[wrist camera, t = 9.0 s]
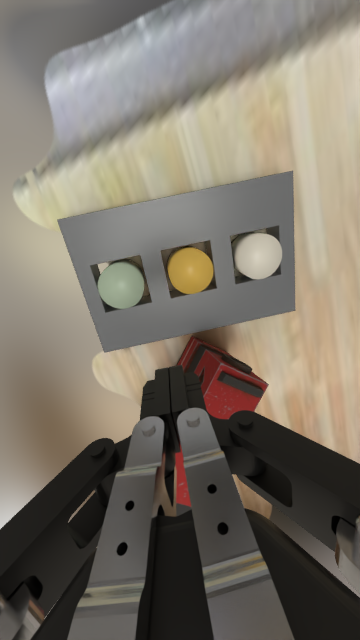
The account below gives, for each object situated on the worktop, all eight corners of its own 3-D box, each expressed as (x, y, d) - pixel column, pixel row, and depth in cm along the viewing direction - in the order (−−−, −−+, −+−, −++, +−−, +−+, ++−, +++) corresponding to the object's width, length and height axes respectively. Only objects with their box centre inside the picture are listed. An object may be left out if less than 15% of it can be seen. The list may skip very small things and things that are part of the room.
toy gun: (114, 467, 37) (107, 588, 23) (185, 326, 36) (226, 360, 21) (147, 476, 39) (160, 595, 24) (217, 340, 37) (275, 382, 23)
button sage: (139, 255, 27) (137, 260, 24) (149, 294, 29) (148, 303, 25) (98, 263, 27) (91, 269, 24) (110, 302, 28) (105, 313, 25)
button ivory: (265, 228, 27) (281, 229, 24) (268, 268, 29) (282, 274, 26) (226, 236, 27) (236, 239, 24) (231, 276, 29) (241, 283, 26)
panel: (278, 175, 26) (293, 170, 23) (282, 302, 31) (295, 310, 28) (67, 219, 25) (56, 219, 23) (108, 340, 31) (104, 352, 28)
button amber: (203, 241, 27) (209, 244, 24) (208, 281, 29) (216, 288, 25) (163, 250, 27) (164, 254, 24) (171, 289, 29) (173, 298, 25)
